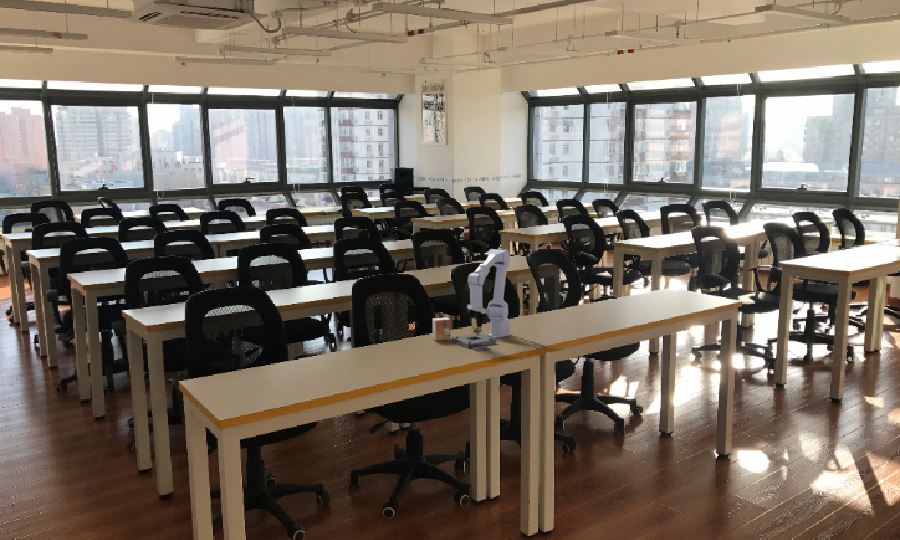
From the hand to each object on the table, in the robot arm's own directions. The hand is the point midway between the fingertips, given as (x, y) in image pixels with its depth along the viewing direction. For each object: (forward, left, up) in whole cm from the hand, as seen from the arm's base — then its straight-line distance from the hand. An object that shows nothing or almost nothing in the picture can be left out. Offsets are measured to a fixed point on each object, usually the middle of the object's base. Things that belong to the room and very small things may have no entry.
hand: (476, 325), depth 343 cm
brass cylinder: (0, 0, -3) cm, 3 cm away
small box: (+8, -21, -10) cm, 24 cm away
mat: (+2, +6, -10) cm, 12 cm away
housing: (-2, -6, -10) cm, 12 cm away
